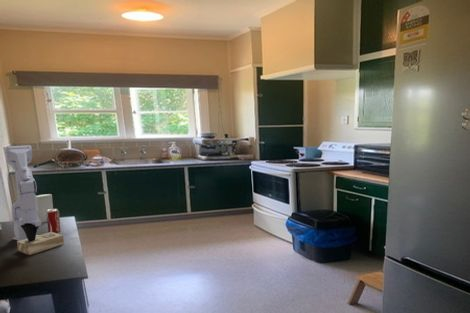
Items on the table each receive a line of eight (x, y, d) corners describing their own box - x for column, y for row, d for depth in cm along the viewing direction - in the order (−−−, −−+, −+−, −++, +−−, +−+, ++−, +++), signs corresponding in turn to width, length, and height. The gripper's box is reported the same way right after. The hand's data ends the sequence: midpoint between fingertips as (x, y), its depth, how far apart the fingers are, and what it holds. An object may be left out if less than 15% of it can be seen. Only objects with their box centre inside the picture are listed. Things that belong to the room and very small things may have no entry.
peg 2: (43, 244, 137) (42, 235, 137) (51, 242, 140) (50, 233, 140) (47, 246, 135) (46, 237, 135) (55, 243, 138) (55, 234, 138)
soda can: (55, 235, 150) (52, 211, 149) (45, 235, 151) (43, 211, 150) (63, 232, 155) (61, 208, 154) (54, 231, 156) (52, 208, 155)
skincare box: (41, 223, 173) (38, 197, 171) (33, 222, 175) (31, 196, 174) (54, 219, 180) (52, 193, 179) (47, 218, 183) (45, 193, 181)
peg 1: (25, 250, 131) (24, 240, 131) (35, 247, 134) (34, 238, 134) (30, 251, 129) (29, 242, 129) (39, 248, 132) (38, 239, 132)
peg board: (17, 250, 132) (16, 241, 131) (51, 240, 143) (51, 231, 143) (29, 255, 126) (28, 245, 126) (63, 243, 138) (63, 235, 138)
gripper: (9, 209, 131) (13, 240, 132) (26, 213, 123) (29, 246, 124) (28, 205, 137) (31, 235, 138) (45, 208, 129) (48, 240, 130)
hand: (31, 240), depth 131 cm, fingers closed, pressing on peg 1
